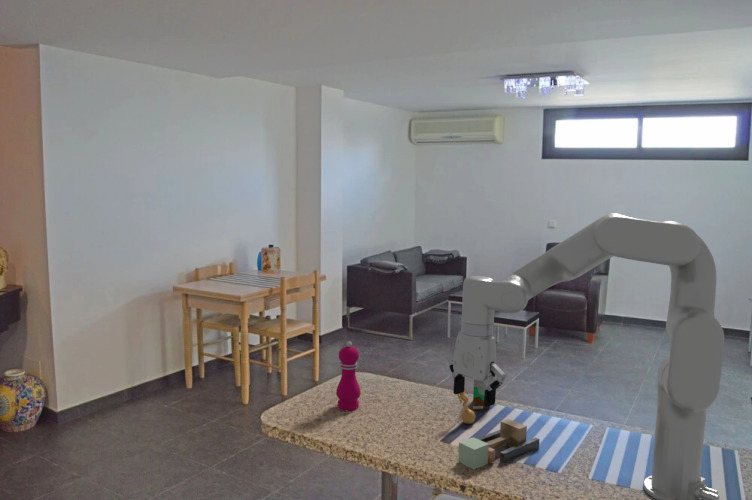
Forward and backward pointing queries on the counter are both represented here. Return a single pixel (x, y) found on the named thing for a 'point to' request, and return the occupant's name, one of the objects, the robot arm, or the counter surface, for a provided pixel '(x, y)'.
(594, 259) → the robot arm
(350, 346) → the pepper mill
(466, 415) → the figurine
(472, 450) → the block
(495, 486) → the counter surface
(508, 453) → the dark grey rails
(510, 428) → the tan pedestal
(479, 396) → the food container
